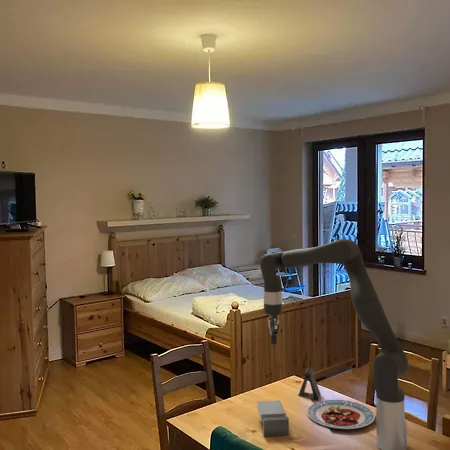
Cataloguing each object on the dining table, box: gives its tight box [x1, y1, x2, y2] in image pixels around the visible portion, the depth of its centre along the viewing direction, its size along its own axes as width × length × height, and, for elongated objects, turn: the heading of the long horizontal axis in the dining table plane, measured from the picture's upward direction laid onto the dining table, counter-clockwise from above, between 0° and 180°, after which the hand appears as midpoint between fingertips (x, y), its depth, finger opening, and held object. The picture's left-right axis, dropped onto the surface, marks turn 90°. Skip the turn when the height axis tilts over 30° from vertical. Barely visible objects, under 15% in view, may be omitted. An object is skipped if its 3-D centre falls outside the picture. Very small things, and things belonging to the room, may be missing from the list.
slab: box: [256, 399, 287, 422], centre depth 188 cm, size 9×12×2 cm
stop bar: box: [262, 416, 290, 438], centre depth 180 cm, size 9×2×7 cm, turn 94°
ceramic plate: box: [306, 399, 376, 430], centre depth 195 cm, size 26×26×3 cm
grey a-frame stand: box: [298, 367, 322, 401], centre depth 216 cm, size 9×6×12 cm, turn 70°
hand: (273, 343), depth 204 cm, fingers closed
